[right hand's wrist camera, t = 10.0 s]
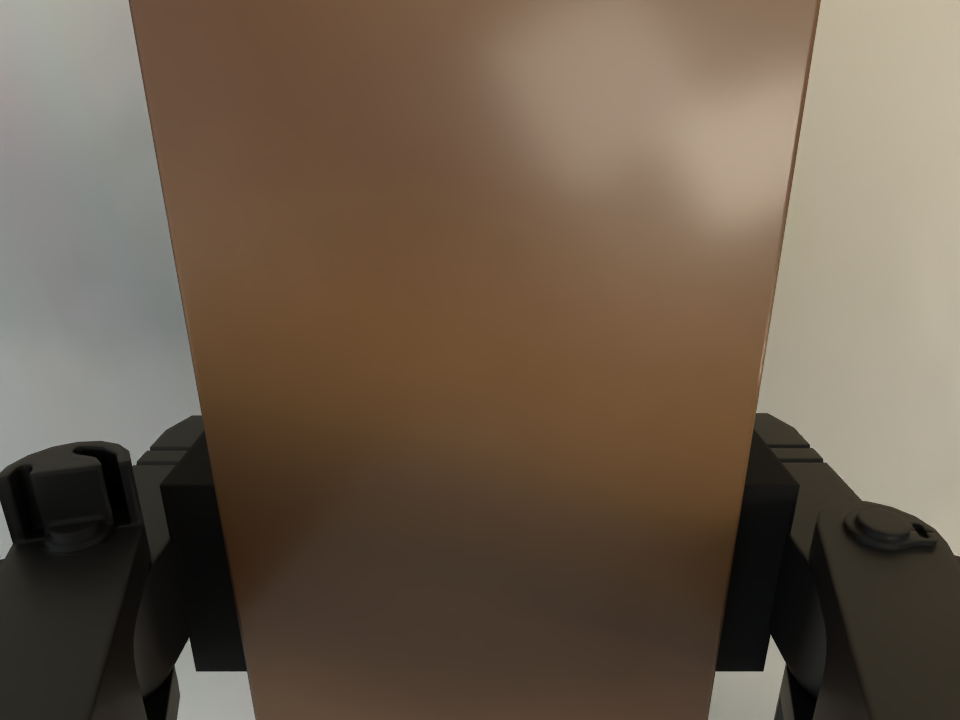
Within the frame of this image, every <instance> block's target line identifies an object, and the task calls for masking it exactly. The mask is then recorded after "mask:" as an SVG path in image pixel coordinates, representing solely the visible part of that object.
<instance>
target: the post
mask: <svg viewBox="0 0 960 720" xmlns="http://www.w3.org/2000/svg"><path fill="white" fill-rule="evenodd" d="M820 2H821V0H129V5H130V11H131V16H132V22H133V28H134V33H135V39H136V45H137V50H138V56H139V62H140V67H141V73H142V79H143V84H144V90H145V96H146V101H147V107H148V112H149V118H150V124H151V129H152V135H153V141H154V146H155V152H156V158H157V163H158V169H159V175H160V180H161V186H162V192H163V197H164V203H165V209H166V214H167V220H168V226H169V231H170V237H171V243H172V248H173V254H174V260H175V265H176V271H177V277H178V282H179V288H180V294H181V299H182V305H183V311H184V316H185V322H186V328H187V333H188V339H189V345H190V350H191V356H192V362H193V367H194V373H195V379H196V384H197V390H198V396H199V401H200V407H201V413H202V418H203V424H204V430H205V435H206V441H207V447H208V452H209V458H210V464H211V469H212V475H213V481H214V486H215V492H216V498H217V503H218V509H219V515H220V520H221V526H222V531H223V537H224V543H225V548H226V554H227V560H228V565H229V571H230V577H231V582H232V588H233V594H234V599H235V605H236V611H237V616H238V622H239V628H240V633H241V639H242V645H243V650H244V656H245V662H246V667H247V673H248V679H249V684H250V690H251V696H252V701H253V707H254V713H255V718H256V720H708V714H709V708H710V702H711V695H712V689H713V683H714V676H715V670H716V664H717V657H718V651H719V644H720V638H721V632H722V625H723V619H724V613H725V606H726V600H727V594H728V587H729V581H730V574H731V568H732V562H733V555H734V549H735V543H736V536H737V530H738V523H739V517H740V511H741V504H742V498H743V492H744V485H745V479H746V473H747V466H748V460H749V453H750V447H751V441H752V434H753V428H754V422H755V415H756V409H757V403H758V396H759V390H760V383H761V377H762V371H763V364H764V358H765V352H766V345H767V339H768V333H769V326H770V320H771V313H772V307H773V301H774V294H775V288H776V282H777V275H778V269H779V262H780V256H781V250H782V243H783V237H784V231H785V224H786V218H787V212H788V205H789V199H790V192H791V186H792V180H793V173H794V167H795V161H796V154H797V148H798V142H799V135H800V129H801V122H802V116H803V110H804V103H805V97H806V91H807V84H808V78H809V72H810V65H811V59H812V52H813V46H814V40H815V33H816V27H817V21H818V14H819V8H820Z"/></svg>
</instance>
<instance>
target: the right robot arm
mask: <svg viewBox="0 0 960 720" xmlns="http://www.w3.org/2000/svg"><path fill="white" fill-rule="evenodd" d="M0 502H1V505H2V508H3V512H4V515H5V518H6V522H7V525H8V528H9V532H10V535H11V538H12V542H13V545H12V547H11V548H10V550H9V552H8V554H7V556H6V558H5V559H2V560H0V720H177V714H178V707H179V699H180V692H179V685H178V680H177V675H176V670H175V663H176V661H177V659H178V657H179V655H180V653H181V651H182V650H183V648H184V646H185V644H186V642H187V640H188V638H189V637H190V643H191V648H192V653H193V658H194V663H195V668H196V671H247V667H246V662H245V656H244V650H243V645H242V639H241V633H240V628H239V622H238V616H237V611H236V605H235V599H234V594H233V588H232V582H231V577H230V571H229V565H228V560H227V554H226V548H225V543H224V537H223V531H222V526H221V520H220V515H219V509H218V503H217V498H216V492H215V486H214V481H213V475H212V469H211V464H210V458H209V452H208V447H207V441H206V435H205V430H204V424H203V418H202V416H191V417H189V418H187V419H185V420H183V421H182V422H180V423H178V424H176V425H174V426H173V427H171V428H169V429H167V430H166V431H165V432H164V433H163V434H162V435H161V436H160V437H159V438H158V439H157V440H156V442H155V443H154V444H153V445H152V446H151V447H150V451H146V452H145V453H144V455H143V456H142V457H141V458H140V459H139V460H138V461H137V465H133V466H132V463H131V458H130V453H129V451H128V450H127V449H125V448H124V447H122V446H121V445H119V444H115V443H109V442H104V441H89V442H75V443H70V444H65V445H60V446H55V447H51V448H48V449H45V450H42V451H39V452H36V453H33V454H30V455H28V456H26V457H24V458H22V459H20V460H18V461H16V462H15V463H13V464H11V465H9V466H7V467H6V468H5V469H4V470H3V471H2V472H1V473H0ZM770 635H771V636H772V638H773V640H774V641H775V643H776V645H777V647H778V649H779V651H780V653H781V654H782V656H783V658H784V660H785V662H786V665H785V670H784V675H783V680H782V684H781V689H780V694H779V698H778V703H777V708H776V712H775V717H774V720H960V557H959V556H955V555H954V554H953V553H952V551H951V549H950V547H949V545H948V544H947V542H946V541H945V540H944V539H943V538H942V537H941V535H940V534H939V533H938V532H937V531H936V530H935V529H934V528H932V527H931V526H929V525H928V524H926V523H925V522H923V521H921V520H920V519H918V518H917V517H915V516H913V515H910V514H908V513H905V512H903V511H900V510H898V509H895V508H893V507H890V506H885V505H881V504H876V503H872V502H868V501H862V500H861V499H860V498H859V497H858V496H857V495H856V494H855V493H854V492H853V491H852V490H851V489H850V487H849V486H848V485H847V484H846V483H845V482H844V481H843V480H842V479H841V478H840V477H839V476H838V475H837V474H836V472H835V471H834V470H833V469H832V468H831V467H830V466H829V465H828V464H827V463H823V458H822V457H821V456H820V455H819V454H818V453H817V452H816V451H815V450H814V449H813V448H810V445H809V443H808V442H807V441H806V440H805V439H804V438H803V437H802V436H801V435H800V434H799V433H798V432H797V431H796V430H795V428H793V427H792V426H790V425H788V424H786V423H784V422H783V421H781V420H779V419H777V418H775V417H773V416H772V415H770V414H768V413H756V415H755V422H754V428H753V434H752V441H751V447H750V453H749V460H748V466H747V473H746V479H745V485H744V492H743V498H742V504H741V511H740V517H739V523H738V530H737V536H736V543H735V549H734V555H733V562H732V568H731V574H730V581H729V587H728V594H727V600H726V606H725V613H724V619H723V625H722V632H721V638H720V644H719V651H718V657H717V664H716V670H715V671H763V670H764V665H765V660H766V655H767V650H768V645H769V640H770Z"/></svg>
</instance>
